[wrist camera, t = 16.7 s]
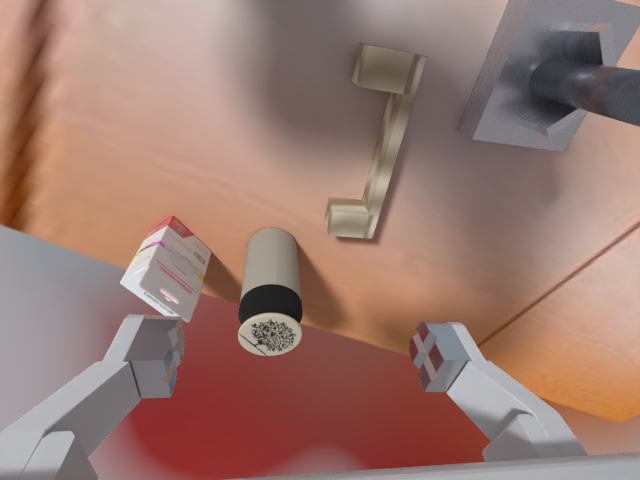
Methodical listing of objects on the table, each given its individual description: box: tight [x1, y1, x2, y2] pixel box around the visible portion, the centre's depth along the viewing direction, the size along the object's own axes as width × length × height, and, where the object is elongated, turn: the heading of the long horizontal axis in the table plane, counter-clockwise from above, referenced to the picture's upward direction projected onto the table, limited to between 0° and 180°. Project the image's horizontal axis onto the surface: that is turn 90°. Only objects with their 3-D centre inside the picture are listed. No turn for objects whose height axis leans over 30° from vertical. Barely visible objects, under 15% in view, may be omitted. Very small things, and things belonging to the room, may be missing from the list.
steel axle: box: [529, 59, 640, 126], centre depth 31 cm, size 4×4×15 cm
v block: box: [458, 0, 640, 152], centre depth 37 cm, size 16×14×9 cm
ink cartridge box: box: [120, 216, 211, 323], centre depth 43 cm, size 9×5×15 cm, turn 30°
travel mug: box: [238, 228, 303, 356], centre depth 44 cm, size 8×8×18 cm
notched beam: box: [325, 43, 427, 239], centre depth 42 cm, size 24×7×4 cm, turn 171°
